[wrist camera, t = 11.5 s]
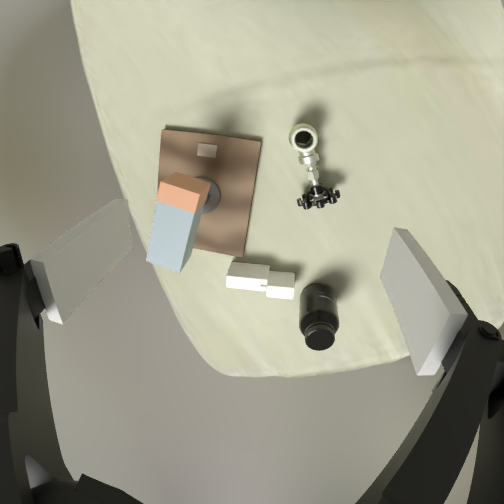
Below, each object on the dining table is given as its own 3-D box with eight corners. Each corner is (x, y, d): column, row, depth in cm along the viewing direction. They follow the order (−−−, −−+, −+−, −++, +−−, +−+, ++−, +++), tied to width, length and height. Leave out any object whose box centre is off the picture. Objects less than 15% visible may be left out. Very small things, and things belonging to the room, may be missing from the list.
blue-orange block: (163, 240, 44) (145, 260, 38) (179, 169, 39) (160, 181, 33) (193, 251, 44) (179, 273, 39) (213, 180, 39) (199, 194, 33)
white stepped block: (214, 268, 57) (207, 285, 52) (254, 227, 52) (249, 241, 47) (273, 314, 60) (271, 333, 55) (315, 279, 56) (317, 297, 51)
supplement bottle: (333, 279, 55) (340, 321, 44) (336, 308, 57) (343, 352, 47) (296, 285, 56) (296, 327, 45) (302, 313, 59) (302, 357, 48)
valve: (278, 127, 44) (297, 199, 49) (275, 131, 38) (298, 213, 43) (319, 118, 42) (337, 190, 47) (324, 119, 37) (343, 203, 41)
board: (164, 129, 46) (139, 135, 38) (261, 141, 45) (254, 149, 37) (158, 237, 55) (137, 261, 47) (243, 254, 54) (234, 282, 46)
